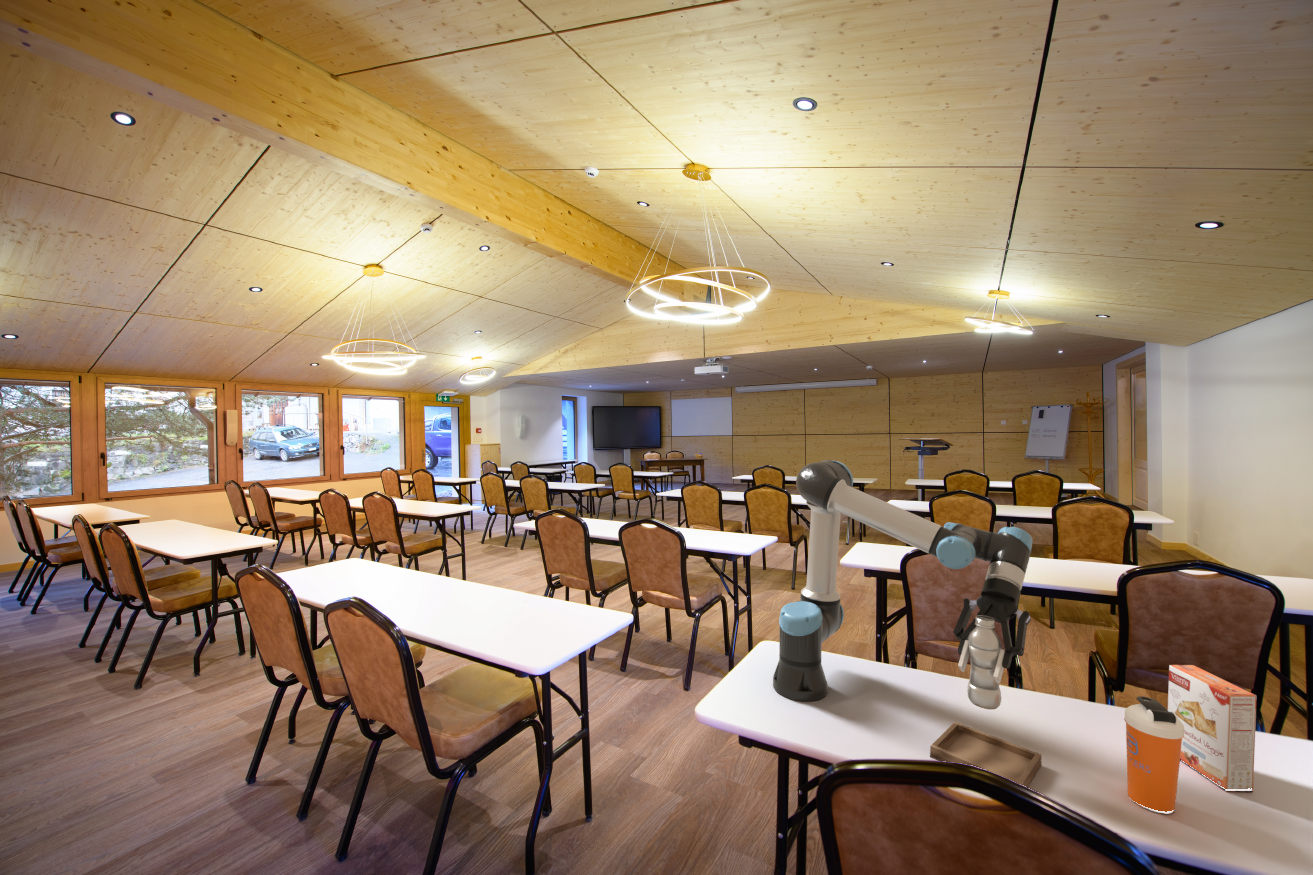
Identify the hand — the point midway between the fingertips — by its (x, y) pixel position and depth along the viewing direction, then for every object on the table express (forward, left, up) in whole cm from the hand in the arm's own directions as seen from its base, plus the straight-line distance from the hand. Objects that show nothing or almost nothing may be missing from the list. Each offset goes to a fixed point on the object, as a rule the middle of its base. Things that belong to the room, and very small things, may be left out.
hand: (978, 673), depth 121 cm
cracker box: (+35, +36, -21) cm, 54 cm away
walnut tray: (+1, +4, -21) cm, 21 cm away
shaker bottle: (+28, +14, -21) cm, 37 cm away
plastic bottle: (0, +4, -9) cm, 9 cm away
